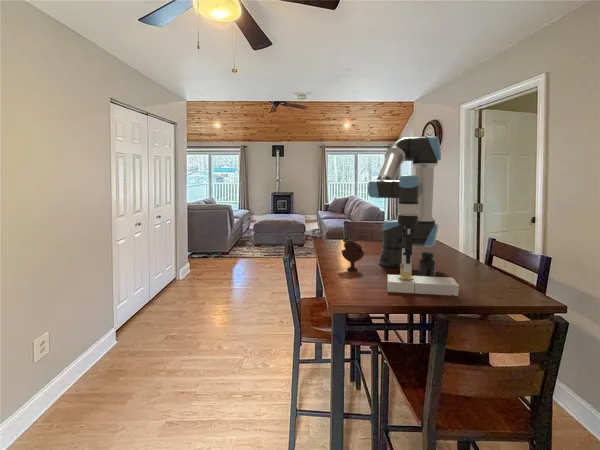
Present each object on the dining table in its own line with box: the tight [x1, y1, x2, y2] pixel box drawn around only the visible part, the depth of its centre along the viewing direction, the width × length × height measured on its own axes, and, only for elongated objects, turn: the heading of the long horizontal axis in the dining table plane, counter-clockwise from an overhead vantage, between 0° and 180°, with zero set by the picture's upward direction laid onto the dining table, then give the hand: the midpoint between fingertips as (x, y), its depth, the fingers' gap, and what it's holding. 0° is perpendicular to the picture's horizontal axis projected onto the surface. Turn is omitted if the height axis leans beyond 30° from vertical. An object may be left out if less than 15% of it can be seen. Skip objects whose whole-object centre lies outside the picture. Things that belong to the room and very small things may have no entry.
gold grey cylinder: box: [399, 263, 413, 281], centre depth 151 cm, size 5×5×10 cm
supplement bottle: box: [418, 251, 437, 277], centre depth 164 cm, size 7×7×12 cm
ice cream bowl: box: [340, 239, 365, 272], centre depth 183 cm, size 11×11×15 cm
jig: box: [386, 274, 460, 297], centre depth 150 cm, size 12×26×4 cm, turn 78°
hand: (406, 267), depth 151 cm, fingers open, 13 cm apart
